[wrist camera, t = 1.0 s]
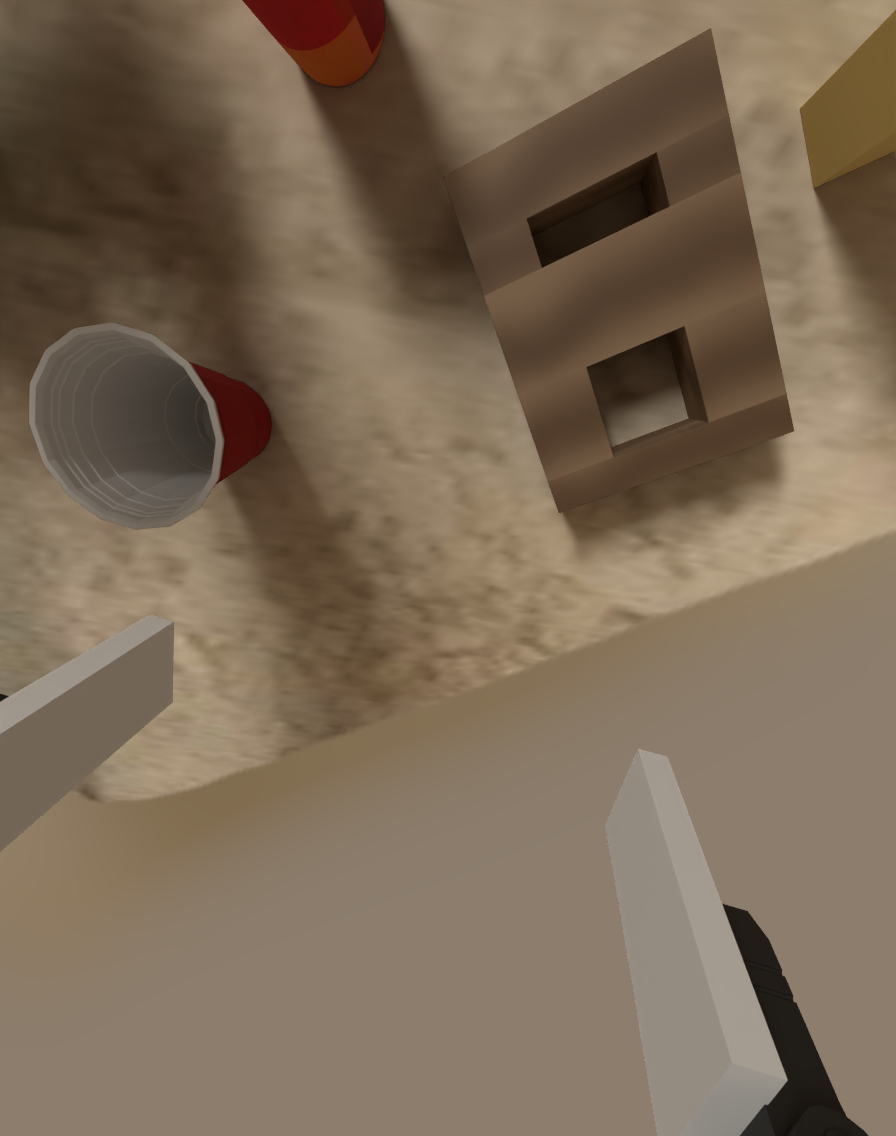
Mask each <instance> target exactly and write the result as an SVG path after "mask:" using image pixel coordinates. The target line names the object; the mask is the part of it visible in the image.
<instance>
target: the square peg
mask: <svg viewBox="0 0 896 1136" xmlns="http://www.w3.org/2000/svg"><path fill="white" fill-rule="evenodd" d="M800 112H801V118H802V123H803V129H804V135H805V141H806V147H807V152H808V158H809V164H810V170H811V175H812V181H813V187H814V188H816V187H818V186H820V185H822V184H824V183H826V182H829V181H831V180H833V179H835V178H837V177H840V176H842V175H844V174H846V173H848V172H851V171H853V170H855V169H857V168H859V167H861V166H864V165H866V164H868V163H870V162H872V161H875V160H877V159H879V158H881V157H883V156H886V155H888V154H890V153H892V152H894V151H896V10H895V11H894V12H893V13H892V14H891V16H890V17H889V18H888V19H887V20H886V21H885V22H884V23H883V24H882V25H881V26H880V27H879V28H878V29H877V30H876V31H875V32H874V33H873V34H872V35H871V36H870V37H869V38H868V39H867V40H866V41H865V42H864V43H863V44H862V45H861V46H860V47H859V48H858V50H857V51H856V52H855V53H854V54H853V55H852V56H851V57H850V58H849V59H848V60H847V61H846V62H845V63H844V64H843V65H842V66H841V67H840V68H839V69H838V70H837V71H836V72H835V73H834V74H833V75H832V76H831V77H830V78H829V79H828V80H827V81H826V83H825V84H824V85H823V86H822V87H821V88H820V89H819V90H818V91H817V92H816V93H815V94H814V95H813V96H812V97H811V98H810V99H809V100H808V101H807V102H806V103H805V104H804V105H803V106H802V107H801V108H800Z"/></svg>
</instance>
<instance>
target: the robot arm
mask: <svg viewBox="0 0 896 1136" xmlns="http://www.w3.org/2000/svg"><path fill="white" fill-rule="evenodd" d="M173 649H174V622H173V621H170V620H166V619H162V618H159V617H155V616H152V615H147V616H146V617H144V618H142V619H141V620H139V621H137V622H136V623H134V624H132V625H130V626H129V627H127V628H125V629H124V630H122V631H120V632H118V633H117V634H115V635H113V636H112V637H110V638H108V639H107V640H105V641H103V642H101V643H100V644H98V645H96V646H95V647H93V648H91V649H89V650H88V651H86V652H84V653H83V654H81V655H79V656H78V657H76V658H74V659H72V660H71V661H69V662H67V663H66V664H64V665H62V666H60V667H59V668H57V669H55V670H54V671H52V672H50V673H48V674H47V675H45V676H43V677H42V678H40V679H38V680H37V681H35V682H33V683H31V684H30V685H28V686H26V687H25V688H23V689H21V690H19V691H18V692H16V693H14V694H13V695H11V696H6V695H3V694H0V851H2V850H3V849H4V848H5V847H6V846H7V845H8V844H9V843H11V842H12V841H13V840H14V839H15V838H17V837H18V836H19V835H20V834H21V833H22V832H23V831H25V830H26V829H27V828H28V827H29V826H30V825H32V824H33V823H34V822H35V821H36V820H37V819H38V818H40V817H41V816H42V815H43V814H44V813H45V812H46V811H48V810H49V809H50V808H51V807H52V806H53V805H55V803H57V802H58V801H59V800H60V799H61V798H62V797H64V796H65V795H66V794H67V793H68V792H70V791H71V790H72V789H73V788H74V787H75V786H76V785H78V784H79V783H80V782H81V781H82V780H83V779H84V778H86V777H87V776H88V775H89V774H90V773H91V772H93V771H94V770H95V769H96V768H97V767H98V766H99V765H101V764H102V763H103V762H104V761H105V760H106V759H108V758H109V757H110V756H111V755H112V754H113V753H114V752H116V751H117V750H118V749H119V748H120V747H121V746H122V745H124V744H125V743H126V742H127V741H128V740H129V739H131V738H132V737H133V736H134V735H135V734H136V733H137V732H139V731H140V730H141V729H142V728H143V727H144V726H146V725H147V724H148V723H149V722H150V721H151V720H152V719H154V718H155V717H156V716H157V715H158V714H159V713H160V712H162V711H163V710H164V709H165V708H166V707H167V706H169V705H170V704H171V703H172V702H173ZM605 830H606V835H607V841H608V847H609V853H610V859H611V865H612V871H613V876H614V882H615V888H616V894H617V900H618V906H619V912H620V918H621V924H622V929H623V935H624V941H625V947H626V953H627V959H628V965H629V970H630V976H631V982H632V988H633V994H634V1000H635V1005H636V1011H637V1017H638V1023H639V1029H640V1035H641V1041H642V1047H643V1053H644V1059H645V1064H646V1071H647V1076H648V1082H649V1088H650V1093H651V1100H652V1105H653V1111H654V1117H655V1124H656V1129H657V1135H658V1136H868V1135H867V1134H866V1133H865V1131H864V1130H862V1129H861V1128H860V1127H858V1126H857V1125H856V1124H855V1123H854V1122H852V1121H851V1120H850V1119H848V1118H847V1117H846V1114H845V1112H844V1111H843V1109H842V1107H841V1105H840V1103H839V1101H838V1098H837V1096H836V1094H835V1091H834V1089H833V1087H832V1084H831V1082H830V1080H829V1077H828V1075H827V1073H826V1070H825V1068H824V1066H823V1063H822V1061H821V1059H820V1057H819V1054H818V1052H817V1050H816V1047H815V1045H814V1043H813V1040H812V1038H811V1036H810V1034H809V1031H808V1029H807V1027H806V1024H805V1022H804V1020H803V1017H802V1015H801V1013H800V1010H799V1008H798V1006H797V1003H795V1002H793V994H792V992H791V990H790V987H789V985H788V983H787V980H786V978H785V977H784V976H782V969H781V967H780V964H779V962H778V960H777V957H776V955H775V953H774V950H773V948H772V946H771V944H770V941H769V939H768V938H767V937H766V935H765V934H764V933H763V931H762V930H761V929H760V927H759V926H758V925H757V924H756V922H755V921H754V919H753V918H752V917H751V915H750V914H749V913H748V911H745V910H742V909H738V908H735V907H731V906H728V905H725V904H722V902H721V900H720V897H719V894H718V892H717V889H716V886H715V884H714V881H713V878H712V876H711V873H710V870H709V868H708V865H707V862H706V860H705V857H704V854H703V851H702V849H701V846H700V844H699V841H698V838H697V835H696V833H695V830H694V827H693V825H692V822H691V819H690V817H689V814H688V811H687V809H686V806H685V803H684V801H683V798H682V795H681V793H680V790H679V787H678V784H677V782H676V779H675V776H674V774H673V771H672V768H671V766H670V763H669V760H668V758H667V757H666V756H662V755H658V754H655V753H651V752H648V751H644V750H640V749H638V750H637V753H636V755H635V757H634V760H633V762H632V764H631V766H630V769H629V771H628V773H627V776H626V778H625V781H624V783H623V785H622V787H621V790H620V792H619V794H618V797H617V799H616V801H615V804H614V806H613V808H612V810H611V813H610V815H609V817H608V820H607V822H606V825H605Z"/></svg>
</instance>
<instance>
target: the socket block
mask: <svg viewBox="0 0 896 1136" xmlns="http://www.w3.org/2000/svg"><path fill="white" fill-rule="evenodd" d="M443 180H444V182H445V185H446V188H447V191H448V194H449V197H450V200H451V203H452V206H453V208H454V211H455V214H456V217H457V220H458V223H459V226H460V229H461V232H462V234H463V237H464V240H465V243H466V246H467V249H468V252H469V255H470V258H471V260H472V263H473V266H474V269H475V272H476V275H477V278H478V281H479V284H480V286H481V289H482V292H483V295H484V298H485V301H486V304H487V307H488V310H489V312H490V315H491V318H492V321H493V324H494V327H495V330H496V333H497V336H498V338H499V341H500V344H501V347H502V350H503V353H504V356H505V359H506V362H507V364H508V367H509V370H510V373H511V376H512V379H513V382H514V385H515V388H516V390H517V393H518V396H519V399H520V402H521V405H522V408H523V411H524V414H525V416H526V419H527V422H528V425H529V428H530V431H531V434H532V437H533V440H534V442H535V445H536V448H537V451H538V454H539V457H540V460H541V463H542V466H543V468H544V471H545V474H546V477H547V480H548V483H549V486H550V489H551V492H552V494H553V497H554V500H555V503H556V506H557V509H558V512H559V513H561V512H564V511H566V510H569V509H572V508H575V507H578V506H581V505H584V504H586V503H589V502H592V501H595V500H598V499H601V498H604V497H607V496H609V495H612V494H615V493H618V492H621V491H624V490H627V489H630V488H632V487H635V486H638V485H641V484H644V483H647V482H650V481H653V480H655V479H658V478H661V477H664V476H667V475H670V474H673V473H675V472H678V471H681V470H684V469H687V468H690V467H693V466H696V465H698V464H701V463H704V462H707V461H710V460H713V459H716V458H719V457H721V456H724V455H727V454H730V453H733V452H736V451H739V450H742V449H744V448H747V447H750V446H753V445H756V444H759V443H762V442H764V441H767V440H770V439H773V438H776V437H779V436H782V435H785V434H787V433H790V432H793V431H794V428H793V423H792V418H791V413H790V409H789V404H788V399H787V394H786V389H785V384H784V380H783V375H782V370H781V365H780V360H779V355H778V350H777V346H776V341H775V336H774V331H773V326H772V321H771V317H770V312H769V307H768V302H767V297H766V292H765V288H764V283H763V278H762V273H761V268H760V263H759V259H758V254H757V249H756V244H755V239H754V234H753V230H752V225H751V220H750V215H749V210H748V205H747V200H746V196H745V191H744V186H743V181H742V176H741V171H740V167H739V162H738V157H737V152H736V147H735V142H734V138H733V133H732V128H731V123H730V118H729V113H728V109H727V104H726V99H725V94H724V89H723V84H722V80H721V75H720V70H719V65H718V60H717V55H716V50H715V46H714V41H713V36H712V31H711V28H710V29H708V30H707V31H705V32H703V33H701V34H699V35H698V36H696V37H694V38H692V39H690V40H689V41H687V42H685V43H683V44H681V45H680V46H678V47H676V48H674V49H673V50H671V51H669V52H667V53H665V54H664V55H662V56H660V57H658V58H656V59H655V60H653V61H651V62H649V63H647V64H646V65H644V66H642V67H640V68H638V69H637V70H635V71H633V72H631V73H630V74H628V75H626V76H624V77H622V78H621V79H619V80H617V81H615V82H613V83H612V84H610V85H608V86H606V87H604V88H603V89H601V90H599V91H597V92H595V93H594V94H592V95H590V96H588V97H587V98H585V99H583V100H581V101H579V102H578V103H576V104H574V105H572V106H570V107H569V108H567V109H565V110H563V111H561V112H560V113H558V114H556V115H554V116H552V117H551V118H549V119H547V120H545V121H544V122H542V123H540V124H538V125H536V126H535V127H533V128H531V129H529V130H527V131H526V132H524V133H522V134H520V135H518V136H517V137H515V138H513V139H511V140H509V141H508V142H506V143H504V144H502V145H500V146H499V147H497V148H495V149H493V150H492V151H490V152H488V153H486V154H484V155H483V156H481V157H479V158H477V159H475V160H474V161H472V162H470V163H468V164H466V165H465V166H463V167H461V168H459V169H457V170H456V171H454V172H452V173H450V174H449V175H447V176H445V177H443ZM639 182H641V185H642V189H643V193H644V197H645V201H646V205H647V209H648V213H649V217H647V218H645V219H643V220H641V221H639V222H637V223H635V224H632V225H630V226H628V227H626V228H624V229H622V230H620V231H618V232H616V233H614V234H612V235H610V236H608V237H605V238H603V239H601V240H599V241H597V242H595V243H593V244H591V245H589V246H587V247H585V248H583V249H581V250H578V251H576V252H574V253H572V254H570V255H568V256H566V257H564V258H562V259H560V260H558V261H556V262H553V263H551V264H549V265H547V266H545V267H543V268H542V267H541V264H540V260H539V257H538V254H537V251H536V248H535V244H534V241H533V238H532V236H533V235H535V234H537V233H539V232H541V231H543V230H545V229H547V228H549V227H551V226H553V225H555V224H557V223H559V222H561V221H563V220H565V219H567V218H569V217H571V216H573V215H575V214H577V213H579V212H581V211H583V210H585V209H587V208H589V207H591V206H593V205H595V204H597V203H599V202H601V201H603V200H605V199H607V198H609V197H611V196H613V195H615V194H617V193H619V192H621V191H623V190H625V189H627V188H629V187H631V186H633V185H635V184H637V183H639ZM666 333H667V337H668V341H669V344H670V348H671V352H672V356H673V360H674V364H675V367H676V371H677V375H678V379H679V383H680V387H681V390H682V394H683V398H684V402H685V406H686V410H687V413H688V417H689V419H686V420H684V421H681V422H678V423H676V424H673V425H670V426H668V427H665V428H662V429H660V430H657V431H654V432H651V433H649V434H646V435H643V436H641V437H638V438H635V439H633V440H630V441H627V442H625V443H622V444H619V445H617V446H614V447H610V443H609V440H608V437H607V434H606V430H605V427H604V424H603V421H602V417H601V414H600V411H599V408H598V404H597V401H596V398H595V394H594V391H593V388H592V385H591V381H590V378H589V375H588V372H587V368H586V367H588V366H590V365H592V364H595V363H597V362H600V361H602V360H604V359H607V358H609V357H612V356H614V355H616V354H619V353H621V352H624V351H626V350H628V349H631V348H633V347H635V346H638V345H640V344H643V343H645V342H647V341H650V340H652V339H655V338H657V337H659V336H662V335H664V334H666Z"/></svg>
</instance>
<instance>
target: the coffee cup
mask: <svg viewBox="0 0 896 1136" xmlns="http://www.w3.org/2000/svg"><path fill="white" fill-rule="evenodd" d="M243 2H244V3H245V4H246V5H247V6H248V7H249V9H250V10H251V11H252V12H253V13H254V14H255V16H256V17H257V18H258V19H259V20H260V22H261V23H262V24H263V25H264V26H265V27H266V29H267V30H268V31H269V32H270V33H271V34H272V36H273V37H274V38H275V39H276V40H277V41H278V42H279V44H280V45H281V46H282V47H283V48H284V49H285V51H286V52H287V53H288V54H289V55H290V56H291V57H292V58H293V60H294V61H295V62H296V63H297V64H298V65H299V66H300V67H301V68H302V69H303V70H304V71H305V72H306V73H307V74H308V75H309V76H310V77H312V78H313V79H314V80H316V81H317V82H319V83H321V84H324V85H327V86H331V87H342V86H347V85H350V84H352V83H354V82H356V81H358V80H359V79H360V78H362V77H363V76H364V75H365V74H366V73H367V72H368V71H369V69H370V68H371V67H372V65H373V64H374V62H375V60H376V58H377V56H378V54H379V52H380V49H381V46H382V42H383V38H384V31H385V11H384V3H383V0H243Z"/></svg>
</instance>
